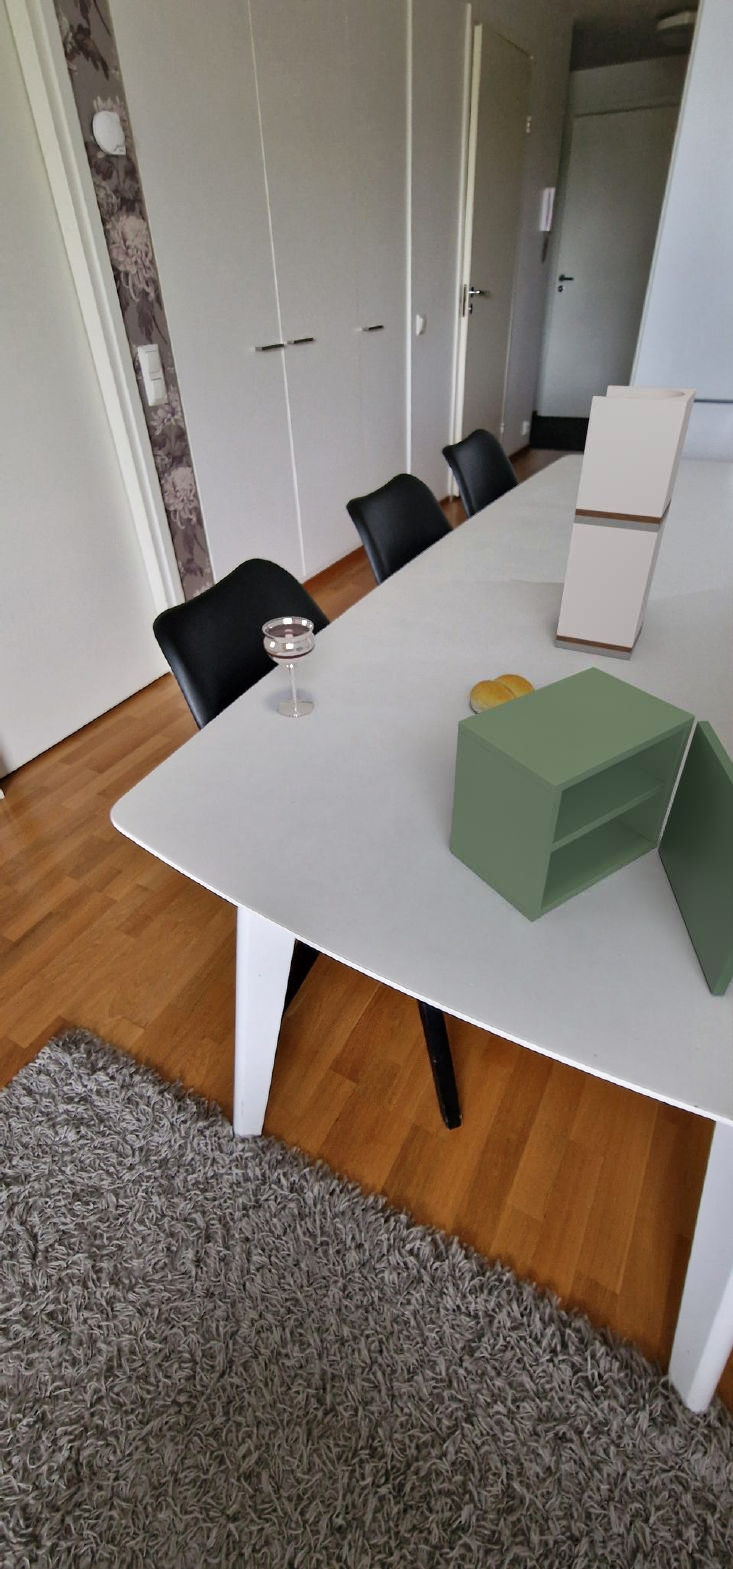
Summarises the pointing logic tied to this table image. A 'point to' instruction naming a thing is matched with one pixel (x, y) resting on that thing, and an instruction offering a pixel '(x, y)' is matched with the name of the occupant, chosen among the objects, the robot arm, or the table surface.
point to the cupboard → (564, 786)
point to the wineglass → (290, 654)
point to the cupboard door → (704, 853)
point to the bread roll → (498, 691)
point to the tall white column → (621, 515)
